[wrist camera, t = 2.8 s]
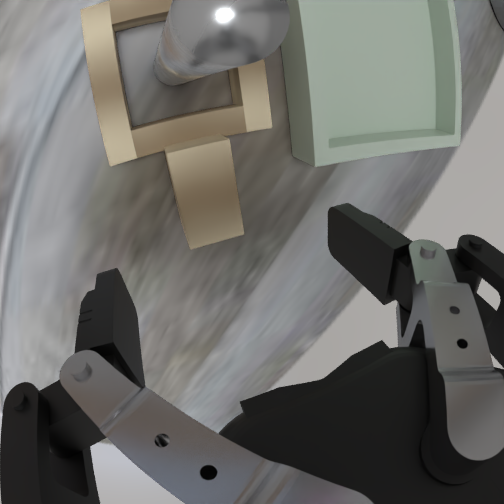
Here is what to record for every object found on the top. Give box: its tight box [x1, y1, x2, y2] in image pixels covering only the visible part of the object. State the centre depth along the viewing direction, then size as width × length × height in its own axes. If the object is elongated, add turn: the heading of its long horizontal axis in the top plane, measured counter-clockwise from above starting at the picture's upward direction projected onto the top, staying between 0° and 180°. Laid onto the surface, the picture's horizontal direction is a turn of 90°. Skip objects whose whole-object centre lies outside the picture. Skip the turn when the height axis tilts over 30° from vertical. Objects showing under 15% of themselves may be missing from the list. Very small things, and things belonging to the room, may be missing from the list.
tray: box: [280, 0, 462, 167], centre depth 14 cm, size 15×20×3 cm
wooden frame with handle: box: [81, 0, 272, 250], centre depth 14 cm, size 14×9×4 cm, turn 8°
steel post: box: [154, 0, 290, 86], centre depth 9 cm, size 2×2×12 cm
